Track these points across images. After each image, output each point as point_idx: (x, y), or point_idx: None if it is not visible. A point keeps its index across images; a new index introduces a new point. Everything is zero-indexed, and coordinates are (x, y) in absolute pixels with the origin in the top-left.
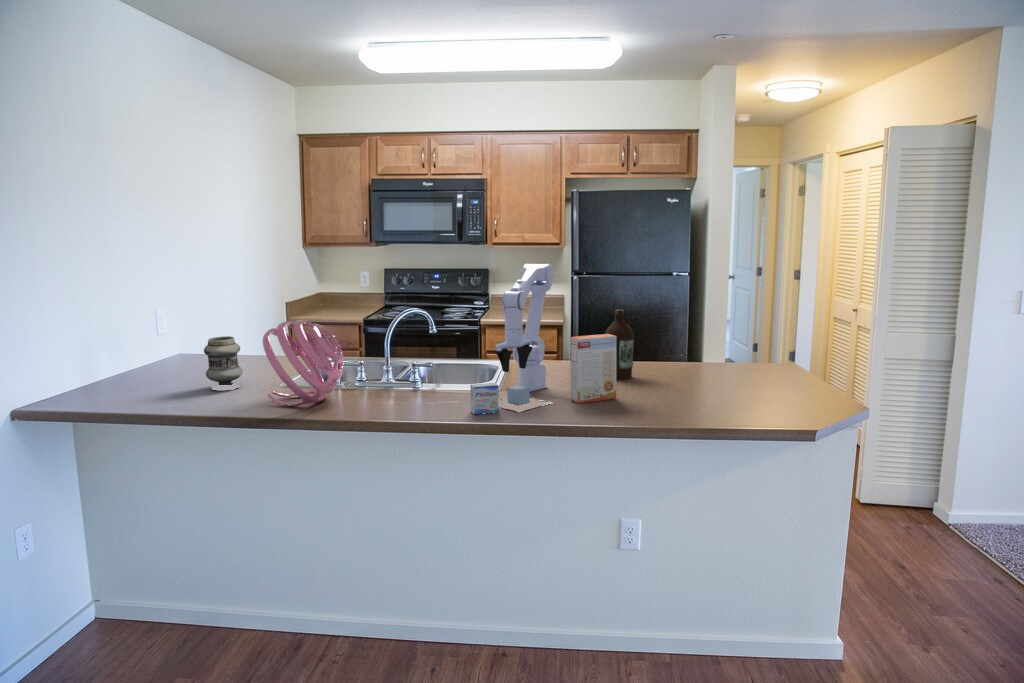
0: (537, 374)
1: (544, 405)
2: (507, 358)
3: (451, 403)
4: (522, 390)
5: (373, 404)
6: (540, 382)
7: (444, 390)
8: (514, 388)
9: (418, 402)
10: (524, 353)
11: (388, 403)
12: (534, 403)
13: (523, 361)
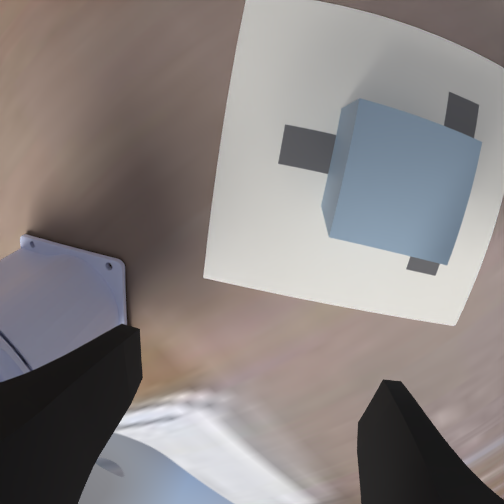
0: (18, 284)
1: (335, 6)
2: (490, 499)
3: (470, 408)
4: (436, 125)
5: (491, 486)
6: (31, 263)
7: (311, 492)
8: (446, 201)
9: (468, 461)
10: (31, 458)
11: (482, 481)
12: (333, 75)
13: (98, 388)
